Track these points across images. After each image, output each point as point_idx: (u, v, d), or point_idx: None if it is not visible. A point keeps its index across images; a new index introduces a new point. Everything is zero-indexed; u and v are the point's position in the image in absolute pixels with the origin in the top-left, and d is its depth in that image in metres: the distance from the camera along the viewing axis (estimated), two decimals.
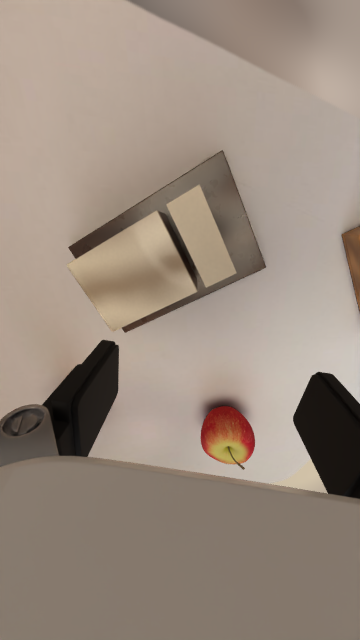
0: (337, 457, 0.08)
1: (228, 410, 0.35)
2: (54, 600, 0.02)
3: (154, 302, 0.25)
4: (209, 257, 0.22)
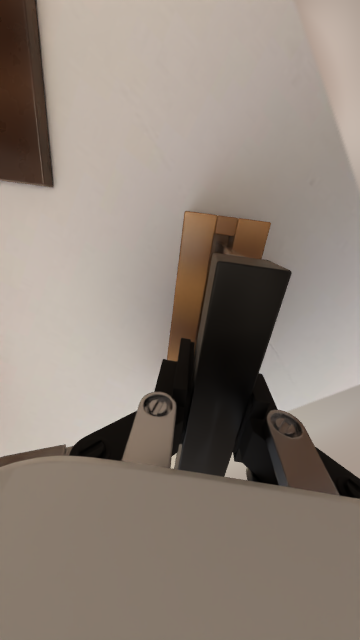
0: None
1: None
2: (54, 600, 0.02)
3: None
4: None
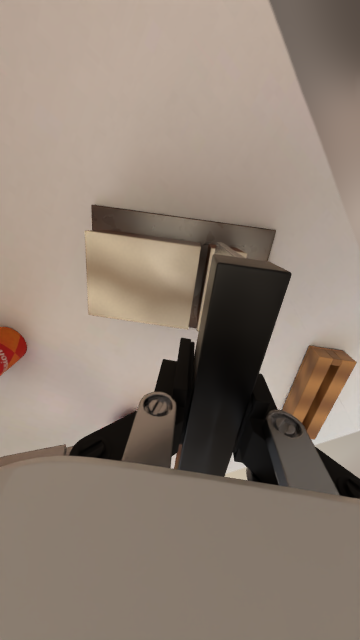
0: None
1: None
2: (54, 600, 0.02)
3: (145, 315, 0.24)
4: None
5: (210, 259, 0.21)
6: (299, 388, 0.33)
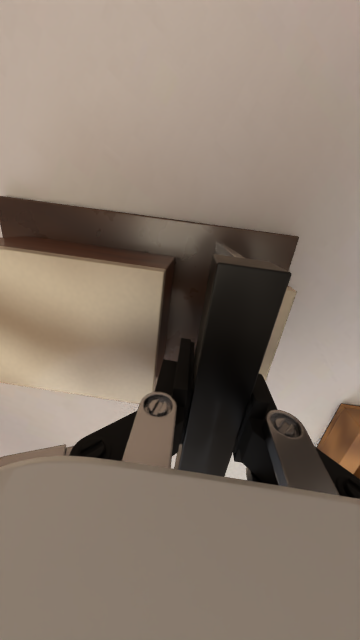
0: None
1: None
2: (54, 600, 0.02)
3: (78, 383, 0.14)
4: None
5: None
6: None
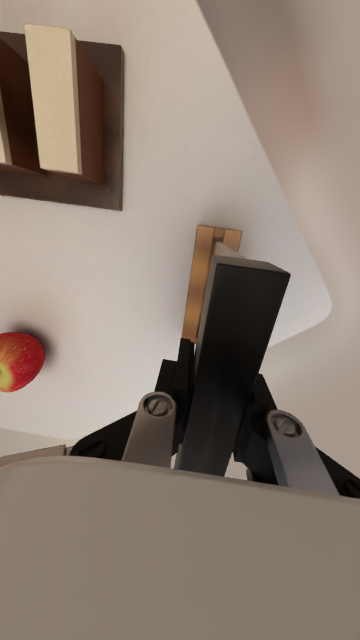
0: None
1: (26, 337, 0.32)
2: (54, 600, 0.02)
3: None
4: (54, 132, 0.19)
5: (27, 43, 0.17)
6: None
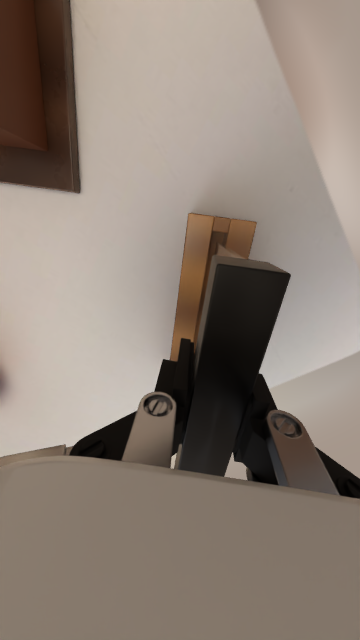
0: None
1: None
2: (54, 600, 0.02)
3: None
4: None
5: None
6: None
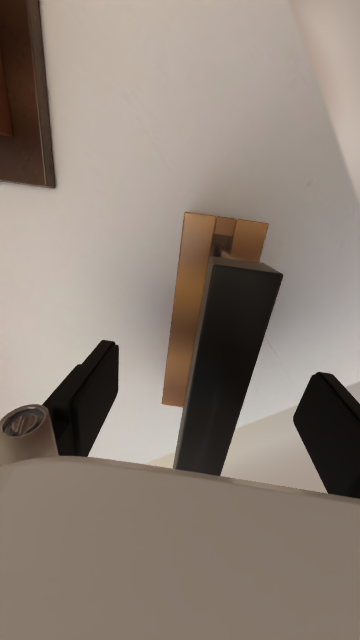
0: (337, 457, 0.08)
1: None
2: (54, 600, 0.02)
3: None
4: None
5: None
6: None
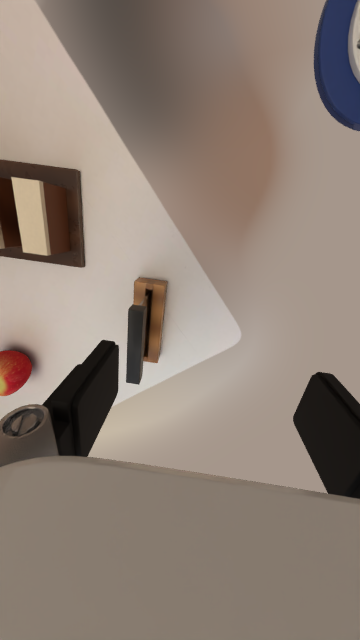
0: (337, 457, 0.08)
1: (17, 355, 0.43)
2: (54, 600, 0.02)
3: None
4: (31, 233, 0.29)
5: (13, 186, 0.27)
6: None
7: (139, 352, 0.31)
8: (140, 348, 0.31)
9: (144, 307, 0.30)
